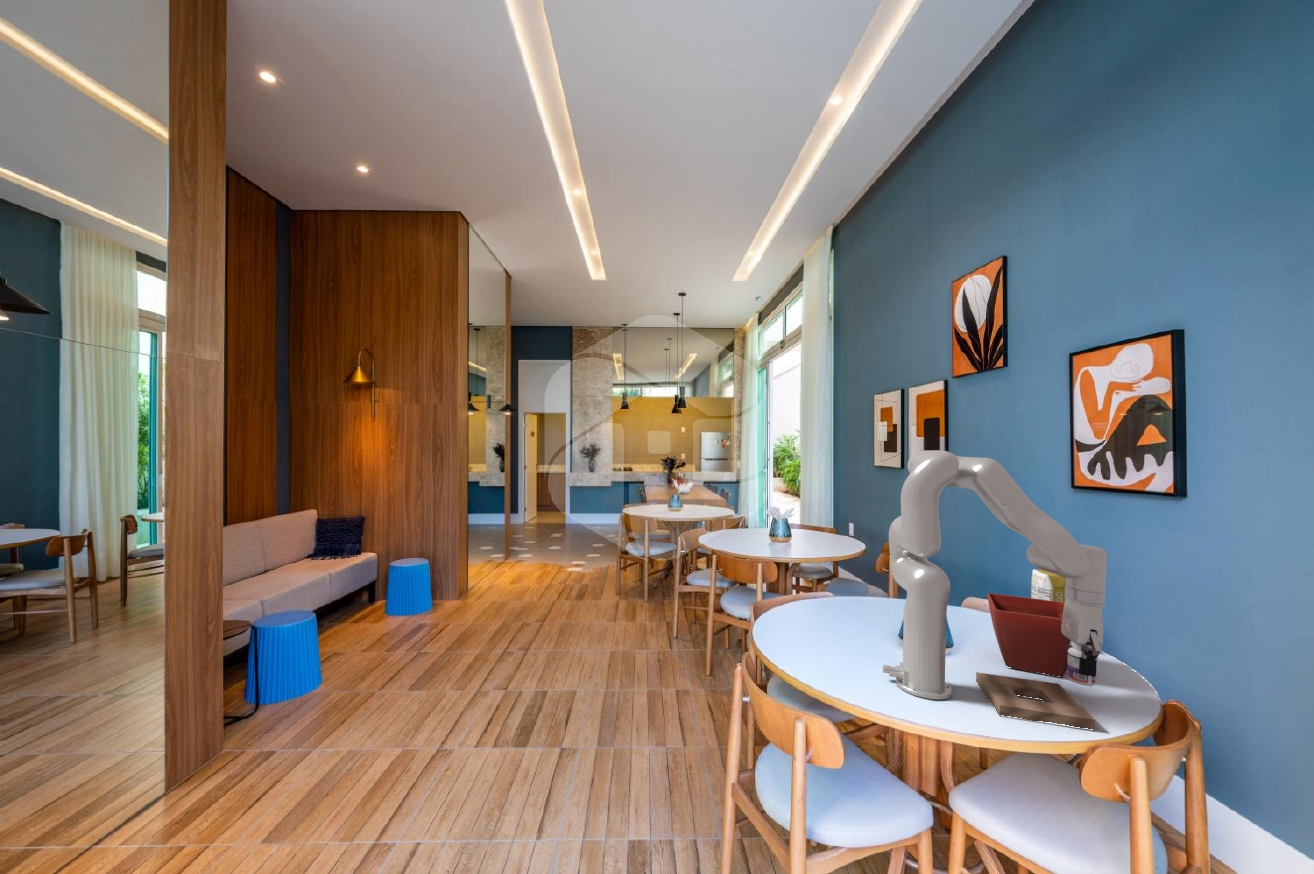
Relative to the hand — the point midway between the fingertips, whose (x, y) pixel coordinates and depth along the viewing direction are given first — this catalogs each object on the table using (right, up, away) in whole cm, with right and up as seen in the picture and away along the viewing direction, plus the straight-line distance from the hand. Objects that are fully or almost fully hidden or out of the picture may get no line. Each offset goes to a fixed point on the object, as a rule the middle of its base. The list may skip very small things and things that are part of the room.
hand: (1081, 669), depth 125 cm
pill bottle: (0, -3, 0) cm, 3 cm away
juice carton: (+19, -9, +35) cm, 41 cm away
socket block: (-15, -7, -4) cm, 17 cm away
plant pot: (+2, -8, +19) cm, 21 cm away
